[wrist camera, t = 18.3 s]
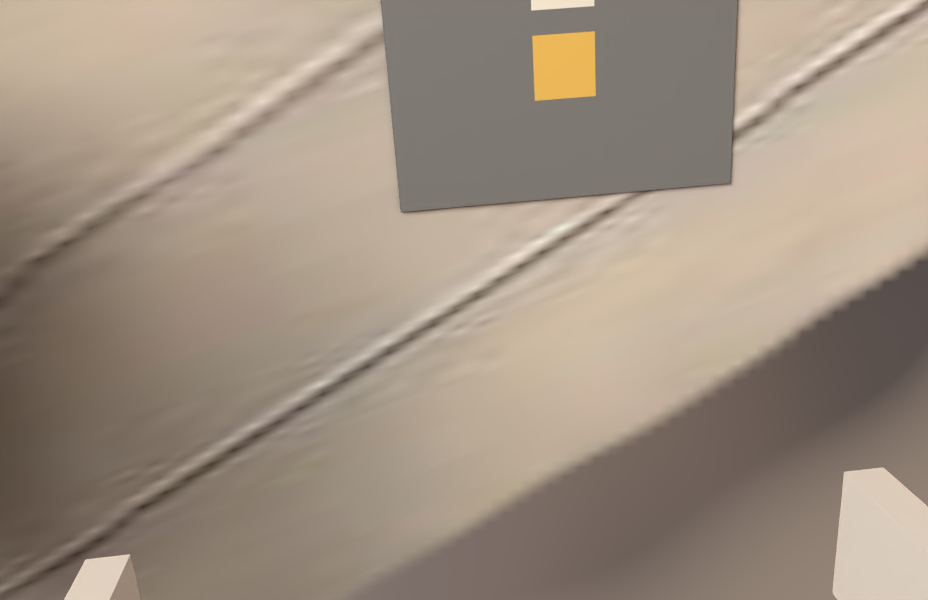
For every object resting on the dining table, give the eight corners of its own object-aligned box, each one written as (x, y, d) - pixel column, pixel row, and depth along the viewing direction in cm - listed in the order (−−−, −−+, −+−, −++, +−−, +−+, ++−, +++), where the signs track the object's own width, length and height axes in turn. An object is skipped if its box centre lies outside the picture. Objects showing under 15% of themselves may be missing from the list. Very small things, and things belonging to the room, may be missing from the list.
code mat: (400, 211, 44) (400, 212, 44) (364, -171, 38) (364, -172, 38) (728, 182, 45) (730, 183, 45) (743, -192, 39) (745, -193, 39)
